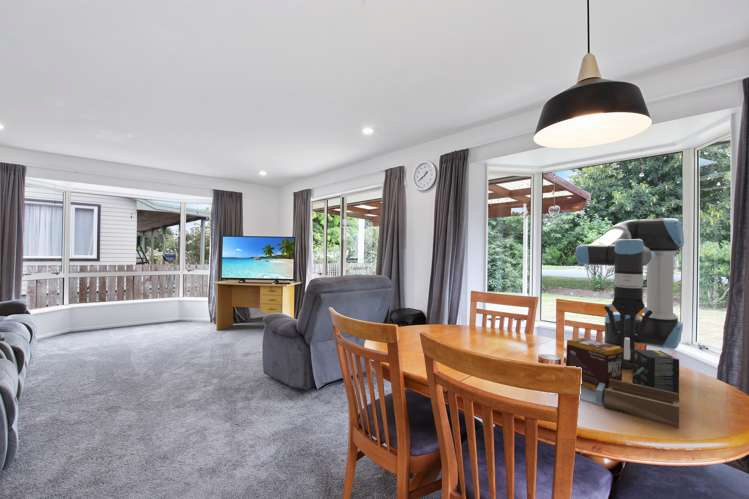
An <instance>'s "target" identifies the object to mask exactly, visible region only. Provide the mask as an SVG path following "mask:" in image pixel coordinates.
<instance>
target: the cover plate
mask: <svg viewBox="0 0 749 499" xmlns="http://www.w3.org/2000/svg"><path fill="white" fill-rule="evenodd" d="M604 393H605V384H604V383H599V385H598V387H597V389H596V390H595V391H592V390H589V389H585V388H581V394H580V400H579V401H582V402H587V403H589V404H594V405H597V406H602V407H604Z"/></svg>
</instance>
